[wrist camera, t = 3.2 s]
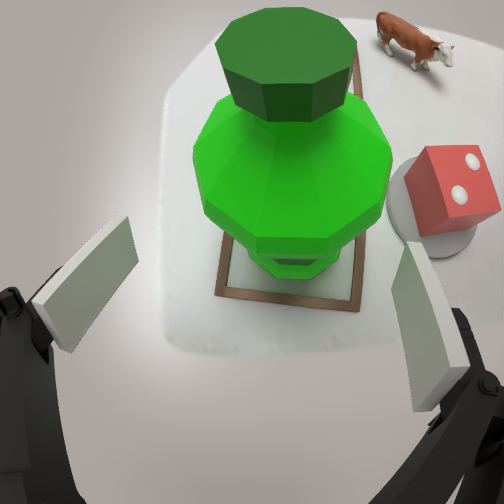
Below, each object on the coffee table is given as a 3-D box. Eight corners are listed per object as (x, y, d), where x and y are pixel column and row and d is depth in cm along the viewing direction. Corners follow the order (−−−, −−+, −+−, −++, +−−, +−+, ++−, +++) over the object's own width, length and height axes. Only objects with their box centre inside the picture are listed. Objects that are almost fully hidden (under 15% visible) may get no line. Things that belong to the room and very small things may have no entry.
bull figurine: (436, 93, 32) (454, 57, 24) (367, 43, 36) (373, 6, 28) (447, 82, 33) (465, 48, 25) (381, 35, 36) (388, 0, 28)
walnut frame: (355, 42, 36) (355, 39, 35) (358, 311, 29) (359, 311, 28) (261, 36, 38) (261, 33, 38) (215, 295, 31) (214, 294, 31)
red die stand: (454, 159, 30) (484, 124, 22) (481, 249, 28) (523, 232, 19) (374, 165, 32) (394, 123, 23) (399, 266, 29) (433, 250, 21)
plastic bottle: (283, 175, 33) (252, -37, 9) (361, 230, 30) (480, 54, 6) (226, 245, 32) (75, 94, 8) (305, 306, 30) (352, 291, 6)
